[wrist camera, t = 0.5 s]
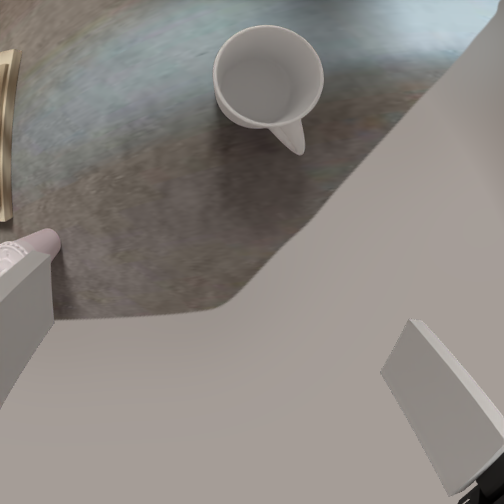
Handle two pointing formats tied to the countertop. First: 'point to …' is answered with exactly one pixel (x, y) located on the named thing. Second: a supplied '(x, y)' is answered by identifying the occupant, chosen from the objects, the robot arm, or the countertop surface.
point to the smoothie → (28, 248)
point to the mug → (269, 81)
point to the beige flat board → (7, 125)
